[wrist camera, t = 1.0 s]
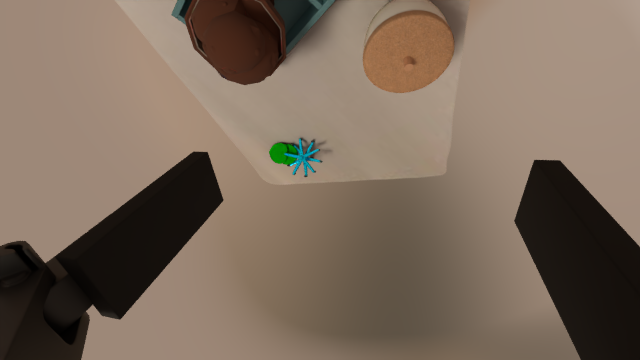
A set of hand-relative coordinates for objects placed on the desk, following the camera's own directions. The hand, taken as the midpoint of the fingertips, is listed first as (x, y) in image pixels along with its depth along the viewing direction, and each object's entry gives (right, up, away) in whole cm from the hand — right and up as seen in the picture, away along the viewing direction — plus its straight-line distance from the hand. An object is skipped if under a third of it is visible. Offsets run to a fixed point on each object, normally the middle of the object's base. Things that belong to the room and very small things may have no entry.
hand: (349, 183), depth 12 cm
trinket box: (+10, +22, +28) cm, 36 cm away
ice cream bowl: (-10, +24, +25) cm, 36 cm away
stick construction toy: (-6, +7, +52) cm, 53 cm away
